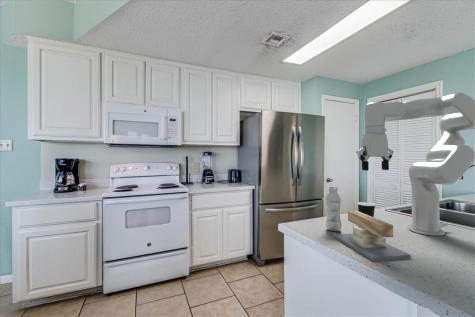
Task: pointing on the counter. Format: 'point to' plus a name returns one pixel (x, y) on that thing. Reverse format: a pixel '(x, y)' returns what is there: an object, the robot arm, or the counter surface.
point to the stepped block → (366, 238)
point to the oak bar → (371, 224)
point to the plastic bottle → (333, 210)
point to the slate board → (374, 250)
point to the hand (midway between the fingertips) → (375, 170)
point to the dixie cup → (366, 208)
